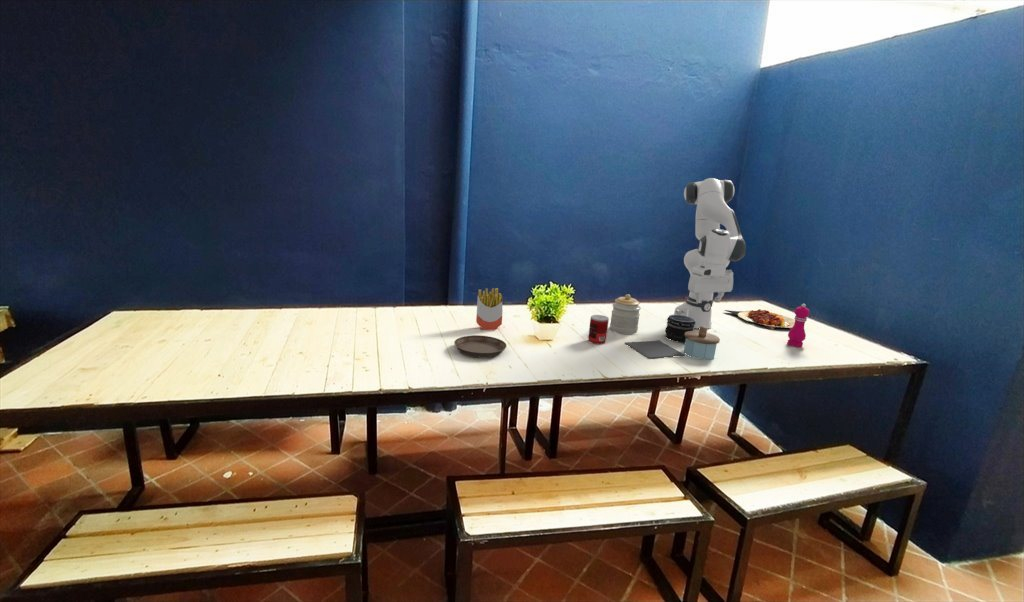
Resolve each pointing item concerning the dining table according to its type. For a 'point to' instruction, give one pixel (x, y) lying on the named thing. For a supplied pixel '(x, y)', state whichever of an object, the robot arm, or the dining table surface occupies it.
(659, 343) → the mat
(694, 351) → the bowl
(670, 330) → the container
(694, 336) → the lid
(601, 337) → the canned food
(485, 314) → the french fries container
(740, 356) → the dining table surface
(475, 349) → the plant saucer
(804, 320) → the pepper mill
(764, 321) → the plate of food
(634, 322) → the jar
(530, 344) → the dining table surface
